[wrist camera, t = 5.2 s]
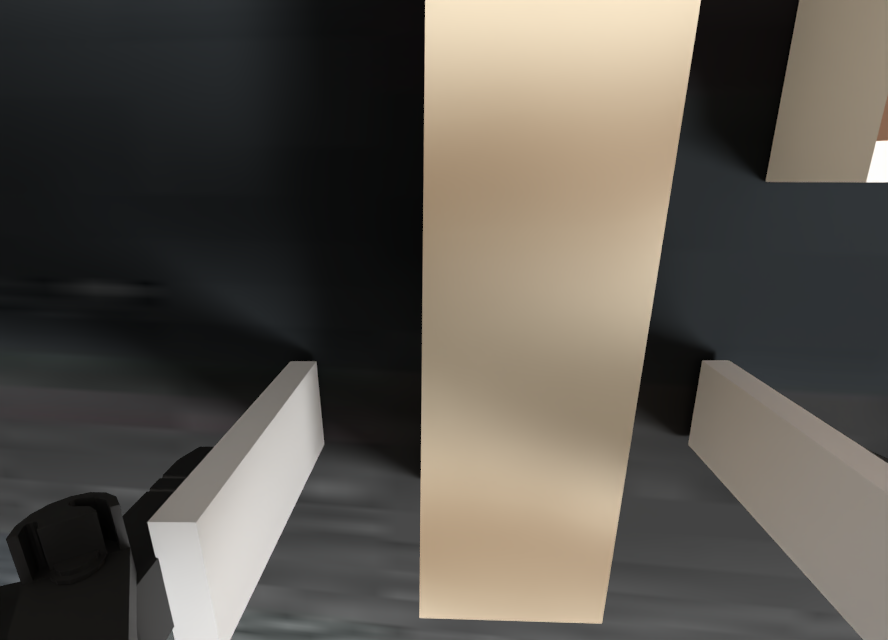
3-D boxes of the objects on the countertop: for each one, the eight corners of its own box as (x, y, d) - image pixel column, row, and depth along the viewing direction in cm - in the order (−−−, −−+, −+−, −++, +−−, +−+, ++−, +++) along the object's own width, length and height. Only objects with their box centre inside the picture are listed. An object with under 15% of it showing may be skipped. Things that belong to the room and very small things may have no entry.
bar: (553, 480, 15) (601, 623, 10) (429, 477, 15) (419, 617, 10) (631, -253, 10) (808, -679, 5) (441, -256, 10) (430, -682, 5)
